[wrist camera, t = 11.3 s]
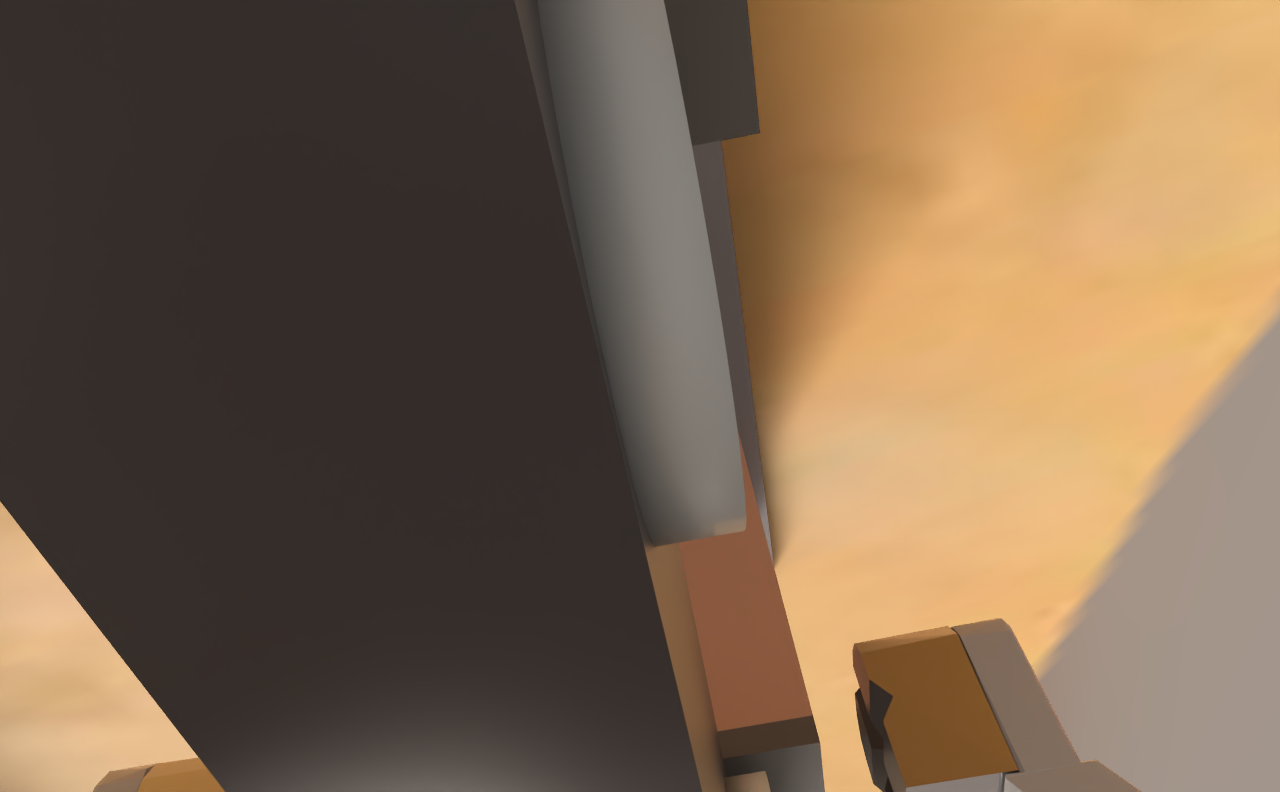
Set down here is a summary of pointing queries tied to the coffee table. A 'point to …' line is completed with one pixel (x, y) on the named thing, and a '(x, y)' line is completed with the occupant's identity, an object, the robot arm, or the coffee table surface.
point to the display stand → (740, 562)
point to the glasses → (372, 381)
